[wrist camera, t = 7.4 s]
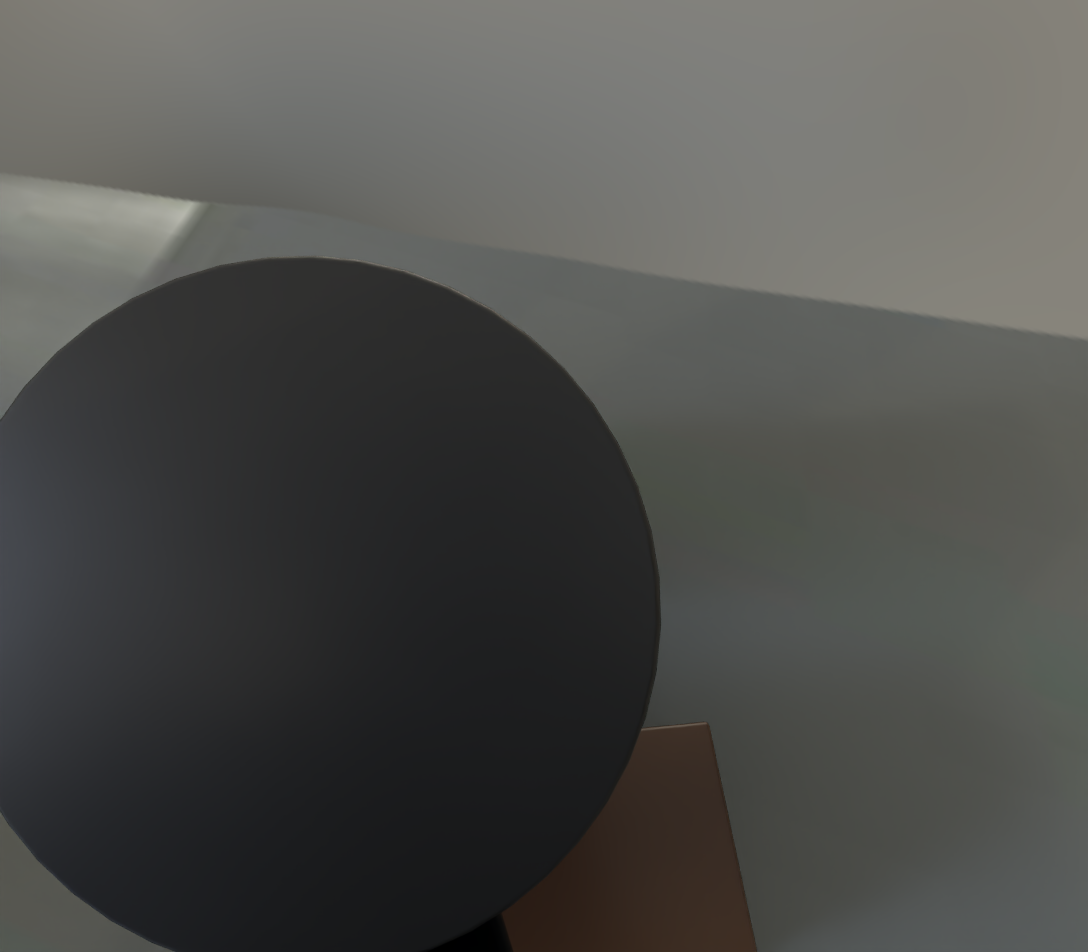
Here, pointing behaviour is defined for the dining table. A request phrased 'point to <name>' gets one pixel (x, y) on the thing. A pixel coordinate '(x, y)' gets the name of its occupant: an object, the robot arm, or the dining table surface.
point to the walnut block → (647, 863)
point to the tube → (314, 611)
